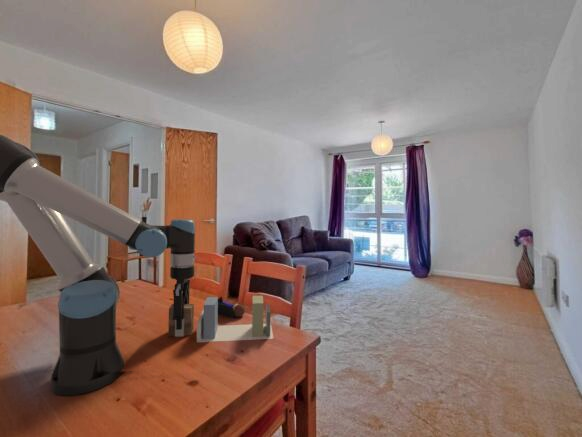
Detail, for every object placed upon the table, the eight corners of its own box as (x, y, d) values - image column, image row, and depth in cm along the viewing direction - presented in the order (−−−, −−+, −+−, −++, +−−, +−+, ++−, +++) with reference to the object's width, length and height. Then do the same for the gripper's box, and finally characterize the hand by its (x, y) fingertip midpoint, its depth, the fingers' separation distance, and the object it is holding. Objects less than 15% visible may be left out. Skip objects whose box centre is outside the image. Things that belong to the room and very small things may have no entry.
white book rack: (273, 343, 92) (273, 320, 92) (196, 347, 89) (196, 323, 89) (270, 327, 104) (271, 307, 104) (202, 330, 101) (203, 309, 100)
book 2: (214, 338, 92) (214, 304, 91) (203, 339, 91) (203, 305, 91) (217, 328, 99) (217, 296, 99) (207, 328, 99) (207, 297, 99)
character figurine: (219, 312, 120) (246, 320, 111) (206, 316, 113) (233, 325, 105) (221, 293, 120) (248, 300, 112) (207, 296, 114) (235, 304, 105)
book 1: (190, 338, 94) (191, 308, 94) (168, 338, 93) (168, 308, 93) (193, 332, 98) (193, 303, 98) (172, 332, 97) (172, 304, 97)
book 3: (263, 336, 94) (263, 303, 93) (252, 336, 93) (252, 303, 93) (262, 326, 102) (262, 295, 101) (252, 326, 101) (252, 295, 101)
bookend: (270, 336, 94) (270, 312, 93) (267, 336, 93) (267, 312, 93) (268, 325, 102) (268, 303, 102) (265, 325, 102) (265, 303, 102)
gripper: (188, 271, 87) (187, 346, 88) (198, 260, 104) (197, 323, 105) (162, 271, 86) (161, 347, 86) (177, 260, 103) (176, 324, 104)
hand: (181, 334), depth 96 cm, fingers closed on book 1, 4 cm apart
